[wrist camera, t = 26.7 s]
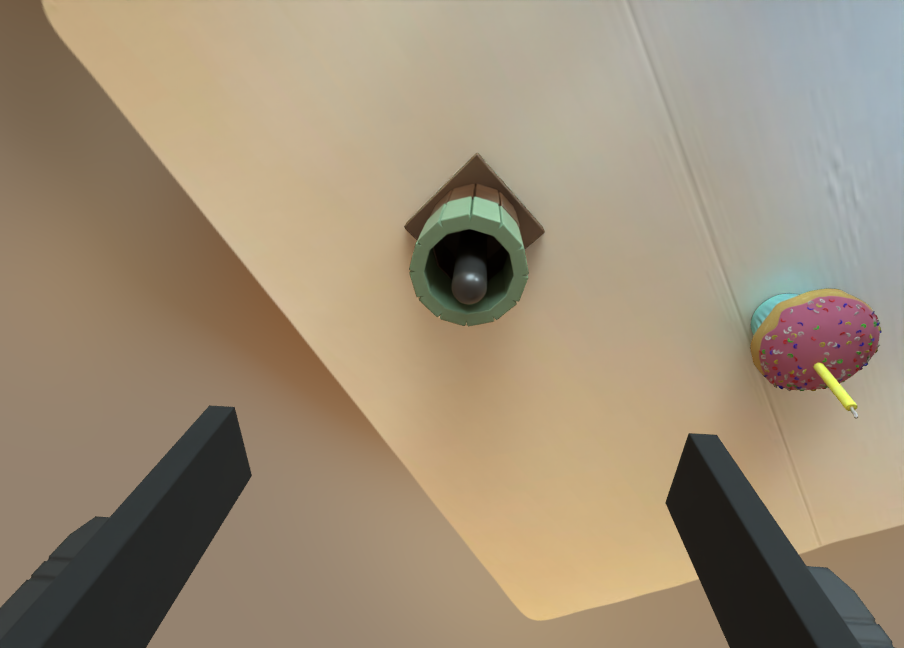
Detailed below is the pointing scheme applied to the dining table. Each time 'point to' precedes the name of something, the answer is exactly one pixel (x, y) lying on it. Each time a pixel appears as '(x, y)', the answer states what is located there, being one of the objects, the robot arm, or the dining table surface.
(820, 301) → the cupcake
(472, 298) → the ring post
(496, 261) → the walnut ring
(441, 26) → the dining table surface
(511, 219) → the sage ring
